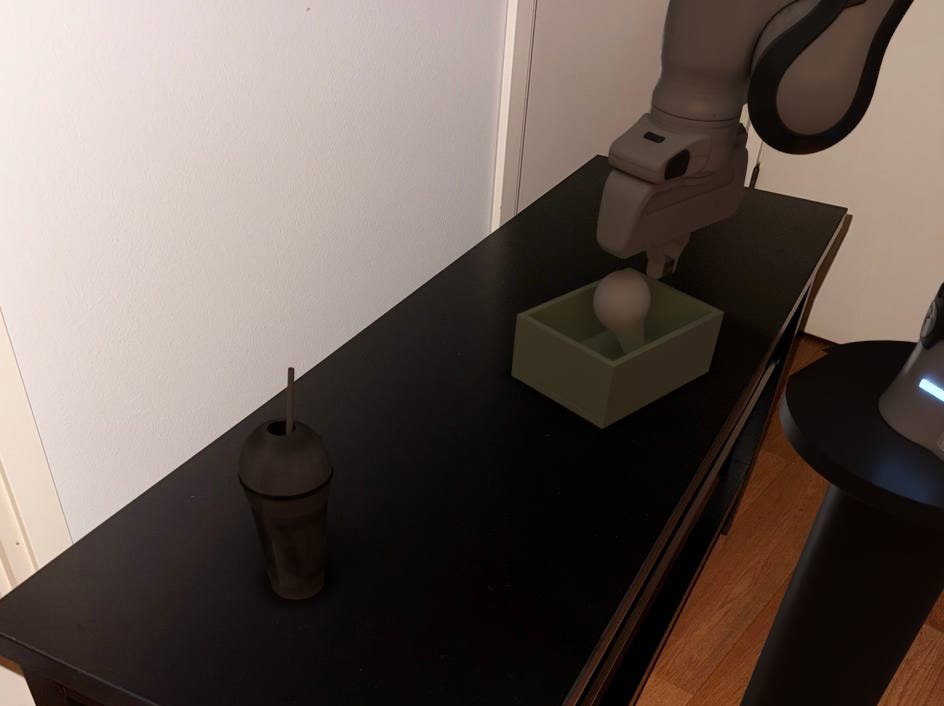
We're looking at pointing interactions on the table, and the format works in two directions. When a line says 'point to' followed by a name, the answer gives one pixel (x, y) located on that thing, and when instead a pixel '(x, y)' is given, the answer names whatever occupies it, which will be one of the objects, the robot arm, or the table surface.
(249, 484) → the beverage cup
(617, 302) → the lightbulb
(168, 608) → the table surface
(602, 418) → the bin
